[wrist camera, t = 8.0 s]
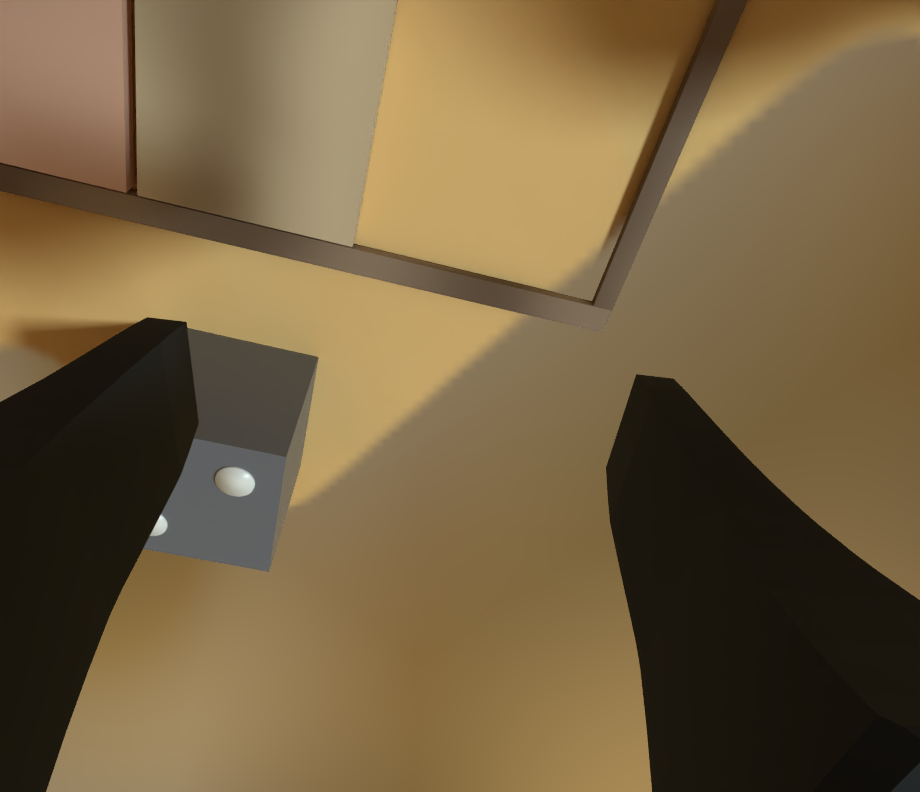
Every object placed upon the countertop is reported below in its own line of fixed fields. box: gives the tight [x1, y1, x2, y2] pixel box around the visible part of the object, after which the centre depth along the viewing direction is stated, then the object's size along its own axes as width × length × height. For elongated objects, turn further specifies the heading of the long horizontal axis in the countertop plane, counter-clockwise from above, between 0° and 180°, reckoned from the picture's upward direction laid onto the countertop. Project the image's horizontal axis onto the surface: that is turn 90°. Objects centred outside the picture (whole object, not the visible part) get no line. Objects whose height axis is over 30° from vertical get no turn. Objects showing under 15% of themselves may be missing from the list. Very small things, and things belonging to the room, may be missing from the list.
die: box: [143, 328, 318, 572], centre depth 23 cm, size 5×5×5 cm
